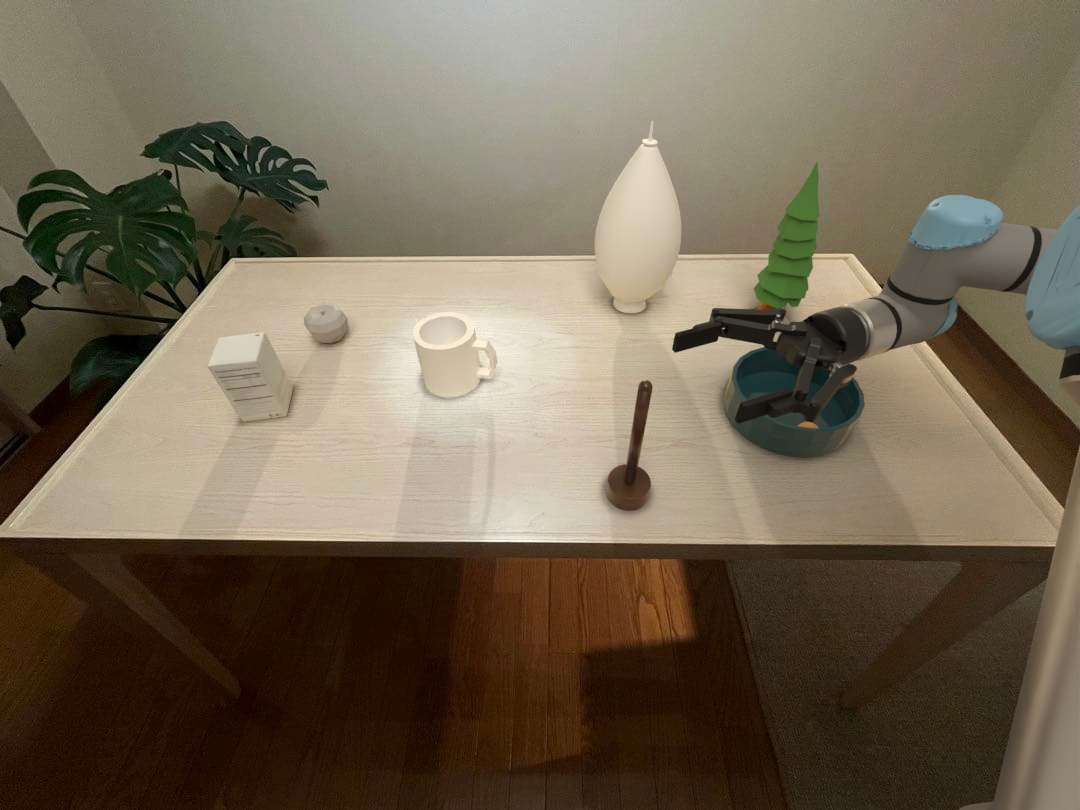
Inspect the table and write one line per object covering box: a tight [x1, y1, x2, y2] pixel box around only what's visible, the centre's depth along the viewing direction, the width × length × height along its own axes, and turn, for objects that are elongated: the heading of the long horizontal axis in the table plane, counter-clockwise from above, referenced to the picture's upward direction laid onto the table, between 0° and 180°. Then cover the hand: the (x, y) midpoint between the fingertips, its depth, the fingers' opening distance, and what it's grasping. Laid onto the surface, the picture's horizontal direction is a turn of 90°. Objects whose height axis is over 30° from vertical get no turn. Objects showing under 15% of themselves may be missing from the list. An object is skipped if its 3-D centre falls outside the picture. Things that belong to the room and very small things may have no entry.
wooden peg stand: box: [606, 379, 653, 512], centre depth 67 cm, size 6×6×22 cm
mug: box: [412, 311, 498, 399], centre depth 89 cm, size 14×10×11 cm
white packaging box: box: [206, 331, 294, 423], centre depth 85 cm, size 7×7×13 cm
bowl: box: [723, 346, 866, 459], centre depth 84 cm, size 19×20×6 cm
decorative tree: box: [753, 161, 820, 310], centre depth 93 cm, size 10×9×30 cm
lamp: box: [594, 120, 682, 314], centre depth 96 cm, size 16×16×35 cm
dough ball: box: [798, 422, 818, 429], centre depth 79 cm, size 4×4×4 cm
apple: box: [303, 303, 349, 344], centre depth 100 cm, size 8×8×7 cm
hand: (704, 375), depth 63 cm, fingers open, 13 cm apart
